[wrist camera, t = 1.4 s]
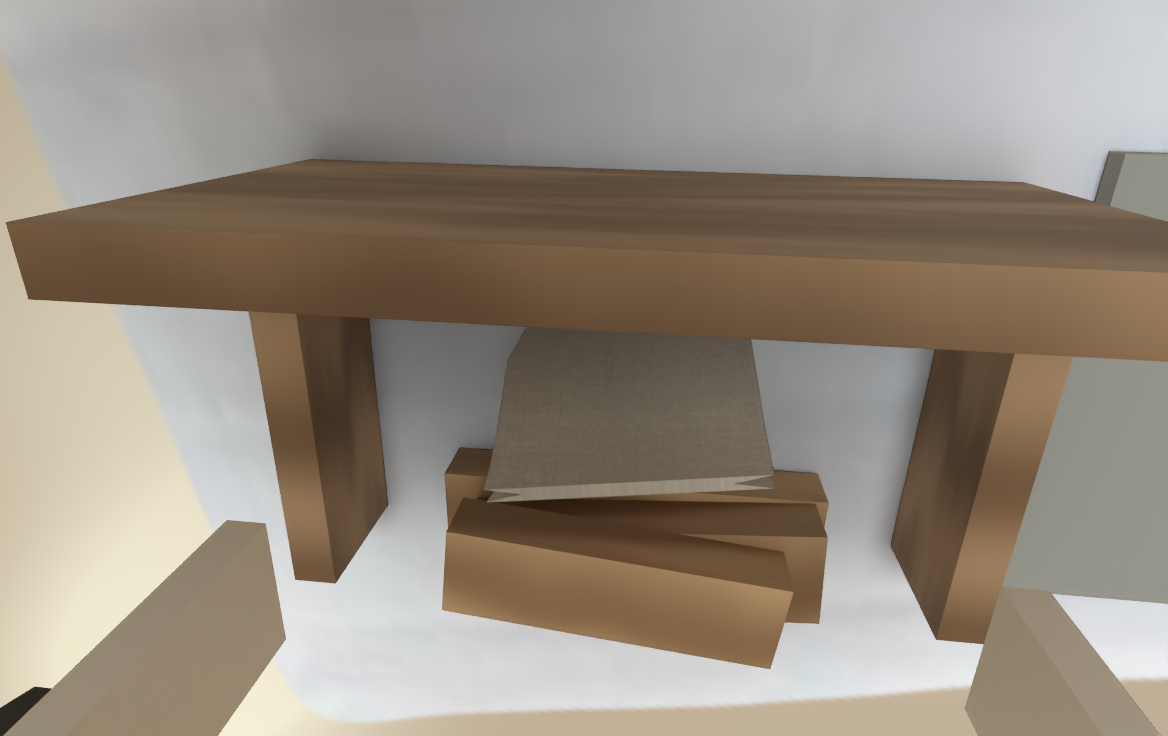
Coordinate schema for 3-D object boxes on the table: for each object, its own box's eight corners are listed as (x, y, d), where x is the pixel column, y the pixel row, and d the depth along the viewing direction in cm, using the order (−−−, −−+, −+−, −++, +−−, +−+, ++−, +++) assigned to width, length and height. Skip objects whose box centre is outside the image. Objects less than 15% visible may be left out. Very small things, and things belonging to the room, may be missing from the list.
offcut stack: (459, 439, 28) (406, 528, 22) (818, 465, 26) (859, 566, 21) (464, 541, 29) (418, 646, 24) (800, 570, 28) (833, 688, 23)
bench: (310, 159, 24) (6, 222, 13) (1023, 182, 22) (1391, 282, 11) (353, 502, 29) (164, 753, 18) (930, 549, 27) (1111, 868, 16)
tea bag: (542, 299, 25) (470, 425, 16) (732, 282, 24) (772, 405, 15) (556, 392, 26) (497, 557, 17) (736, 379, 25) (776, 547, 16)
